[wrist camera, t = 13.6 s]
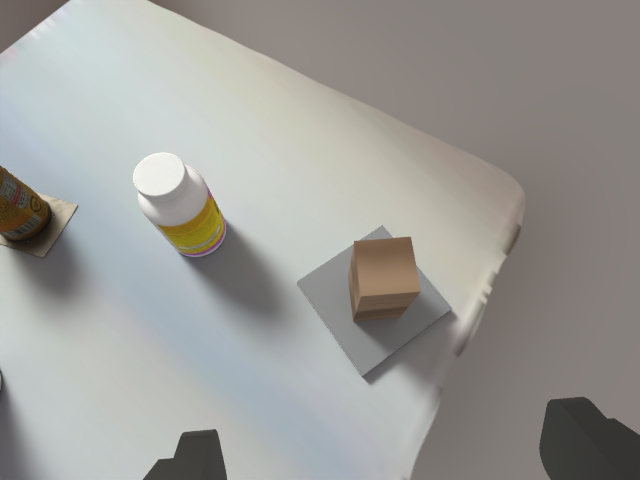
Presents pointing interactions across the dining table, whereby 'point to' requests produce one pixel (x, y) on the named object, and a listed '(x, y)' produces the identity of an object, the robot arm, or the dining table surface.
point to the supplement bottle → (179, 204)
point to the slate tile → (369, 335)
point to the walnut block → (382, 278)
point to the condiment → (29, 216)
